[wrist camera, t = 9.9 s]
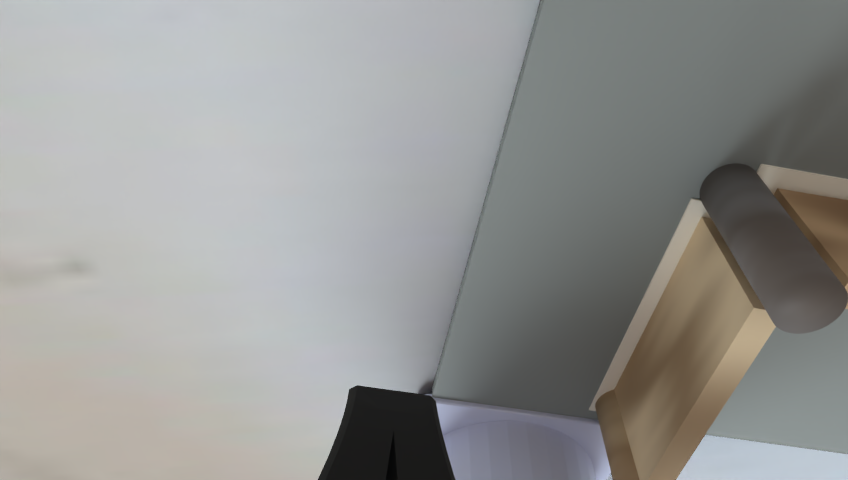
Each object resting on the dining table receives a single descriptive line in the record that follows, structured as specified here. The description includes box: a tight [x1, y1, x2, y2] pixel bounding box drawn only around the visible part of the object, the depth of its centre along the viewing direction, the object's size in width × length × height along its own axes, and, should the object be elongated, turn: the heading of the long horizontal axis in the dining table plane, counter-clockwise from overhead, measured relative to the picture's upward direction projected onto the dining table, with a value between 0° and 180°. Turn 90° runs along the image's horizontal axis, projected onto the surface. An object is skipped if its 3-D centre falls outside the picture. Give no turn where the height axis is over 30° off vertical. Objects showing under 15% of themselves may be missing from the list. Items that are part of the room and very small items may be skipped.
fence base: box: [595, 163, 848, 480], centre depth 20 cm, size 11×2×5 cm, turn 170°
